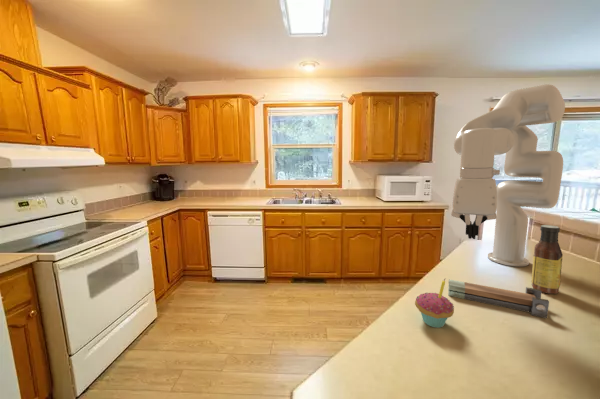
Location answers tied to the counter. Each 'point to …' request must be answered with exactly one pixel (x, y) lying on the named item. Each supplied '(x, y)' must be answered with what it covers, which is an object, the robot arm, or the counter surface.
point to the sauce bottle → (547, 261)
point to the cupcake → (434, 308)
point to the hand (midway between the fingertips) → (471, 237)
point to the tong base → (536, 309)
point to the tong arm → (491, 292)
